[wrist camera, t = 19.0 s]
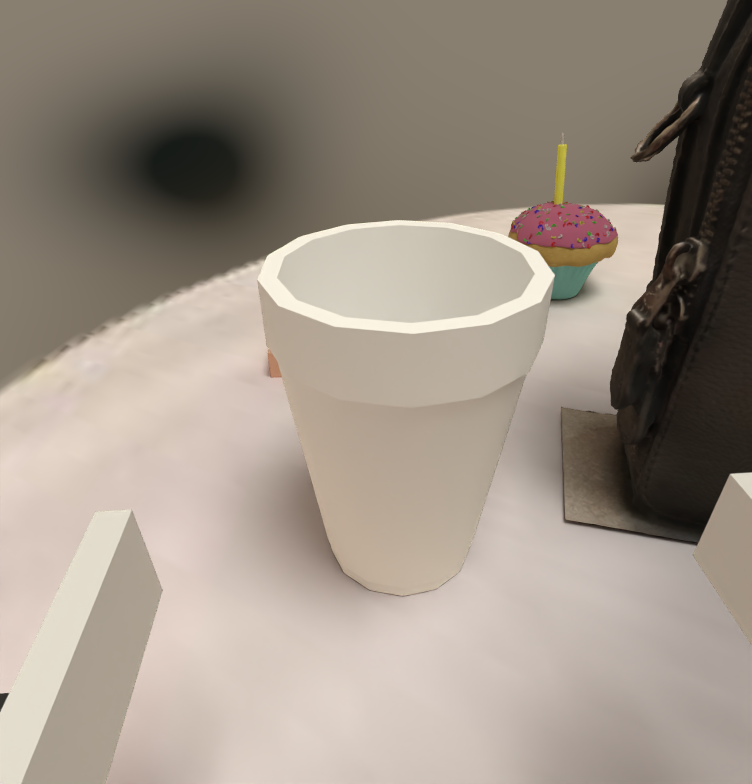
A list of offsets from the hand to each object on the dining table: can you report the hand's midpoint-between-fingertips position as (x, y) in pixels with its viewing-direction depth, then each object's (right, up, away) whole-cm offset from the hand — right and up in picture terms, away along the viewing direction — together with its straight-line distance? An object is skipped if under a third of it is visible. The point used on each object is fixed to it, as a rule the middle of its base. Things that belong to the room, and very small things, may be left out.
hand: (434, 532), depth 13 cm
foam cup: (0, -4, +13) cm, 13 cm away
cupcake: (+14, +12, +35) cm, 40 cm away
